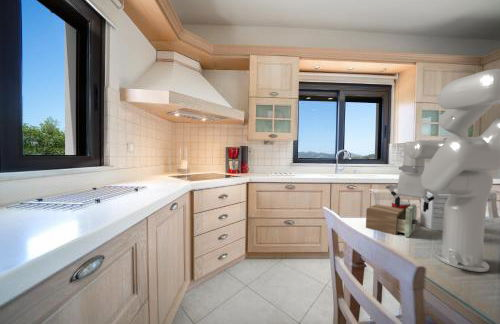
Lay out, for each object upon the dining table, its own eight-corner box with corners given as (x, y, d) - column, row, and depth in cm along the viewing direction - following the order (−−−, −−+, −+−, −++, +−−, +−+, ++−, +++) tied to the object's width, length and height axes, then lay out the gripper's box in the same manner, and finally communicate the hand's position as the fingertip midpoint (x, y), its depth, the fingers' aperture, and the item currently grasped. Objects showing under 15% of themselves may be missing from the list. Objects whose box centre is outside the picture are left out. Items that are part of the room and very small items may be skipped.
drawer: (413, 238, 89) (414, 210, 89) (376, 229, 99) (377, 204, 98) (419, 230, 98) (420, 205, 98) (385, 222, 108) (386, 199, 108)
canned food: (403, 221, 112) (404, 200, 112) (413, 226, 104) (414, 204, 104) (387, 220, 113) (388, 200, 112) (396, 226, 105) (397, 203, 105)
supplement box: (454, 231, 98) (456, 195, 98) (430, 230, 100) (432, 194, 100) (440, 225, 108) (442, 191, 107) (419, 223, 110) (421, 190, 109)
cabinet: (395, 234, 93) (396, 214, 93) (365, 227, 102) (366, 208, 102) (403, 227, 103) (404, 208, 103) (375, 221, 112) (376, 204, 111)
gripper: (387, 169, 98) (385, 206, 99) (438, 172, 85) (435, 215, 86) (392, 168, 103) (390, 203, 104) (440, 171, 91) (437, 211, 92)
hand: (410, 208), depth 95 cm, fingers open, 9 cm apart
